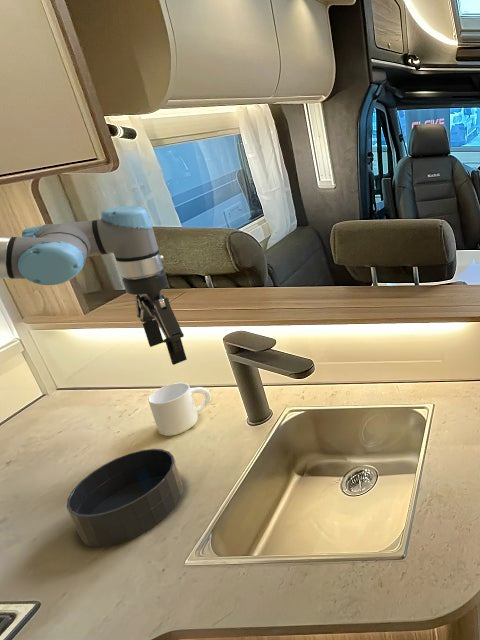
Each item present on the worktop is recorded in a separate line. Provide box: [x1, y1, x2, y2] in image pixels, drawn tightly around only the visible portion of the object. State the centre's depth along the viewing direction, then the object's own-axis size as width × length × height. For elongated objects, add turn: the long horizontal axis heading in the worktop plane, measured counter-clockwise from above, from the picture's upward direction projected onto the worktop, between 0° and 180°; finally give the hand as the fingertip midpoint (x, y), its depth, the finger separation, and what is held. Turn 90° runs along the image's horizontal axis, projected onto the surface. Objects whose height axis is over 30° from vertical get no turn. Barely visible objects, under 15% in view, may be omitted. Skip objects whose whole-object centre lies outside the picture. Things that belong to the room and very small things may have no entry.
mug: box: [147, 382, 212, 437], centre depth 107 cm, size 12×8×10 cm
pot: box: [66, 448, 184, 548], centre depth 84 cm, size 16×16×8 cm
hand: (167, 352), depth 102 cm, fingers open, 13 cm apart
